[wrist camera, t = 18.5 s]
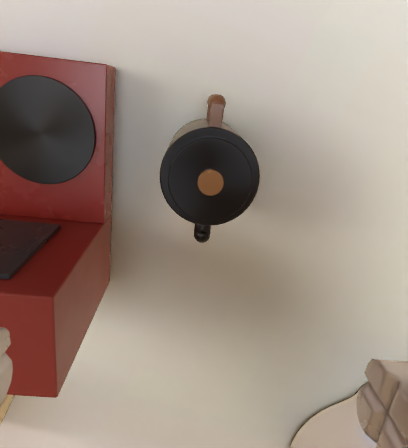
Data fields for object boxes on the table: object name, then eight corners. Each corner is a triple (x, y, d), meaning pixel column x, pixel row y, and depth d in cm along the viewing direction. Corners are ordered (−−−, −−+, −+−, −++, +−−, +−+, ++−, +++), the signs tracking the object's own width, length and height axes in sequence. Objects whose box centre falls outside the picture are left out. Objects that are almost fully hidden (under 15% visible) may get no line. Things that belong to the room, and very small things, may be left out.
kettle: (252, 99, 25) (277, 101, 17) (235, 215, 28) (250, 260, 20) (173, 89, 25) (163, 87, 17) (164, 209, 28) (153, 252, 20)
